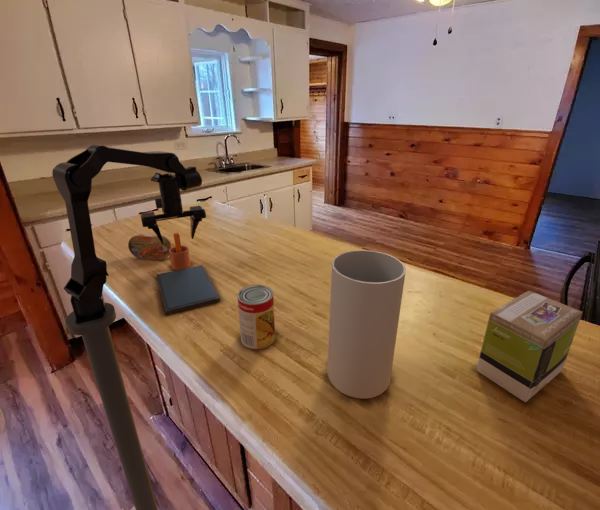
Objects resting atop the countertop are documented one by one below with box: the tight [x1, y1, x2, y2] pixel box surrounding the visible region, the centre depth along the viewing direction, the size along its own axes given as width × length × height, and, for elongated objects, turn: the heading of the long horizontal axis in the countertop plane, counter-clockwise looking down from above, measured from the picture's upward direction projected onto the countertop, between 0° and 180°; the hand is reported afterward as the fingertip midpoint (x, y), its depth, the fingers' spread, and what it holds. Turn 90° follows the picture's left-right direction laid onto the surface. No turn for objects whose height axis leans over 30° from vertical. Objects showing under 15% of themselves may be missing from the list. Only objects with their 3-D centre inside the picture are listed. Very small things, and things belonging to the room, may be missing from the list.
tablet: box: [156, 264, 221, 316], centre depth 98 cm, size 14×22×1 cm, turn 27°
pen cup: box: [169, 245, 192, 271], centre depth 111 cm, size 6×6×6 cm
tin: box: [127, 233, 172, 261], centre depth 116 cm, size 15×3×8 cm, turn 81°
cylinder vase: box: [326, 249, 407, 400], centre depth 63 cm, size 12×12×25 cm
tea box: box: [476, 290, 584, 403], centre depth 66 cm, size 15×10×15 cm
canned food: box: [236, 284, 276, 350], centre depth 76 cm, size 8×8×12 cm
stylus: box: [173, 232, 182, 253], centre depth 109 cm, size 2×2×11 cm
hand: (177, 240), depth 108 cm, fingers open, 9 cm apart
